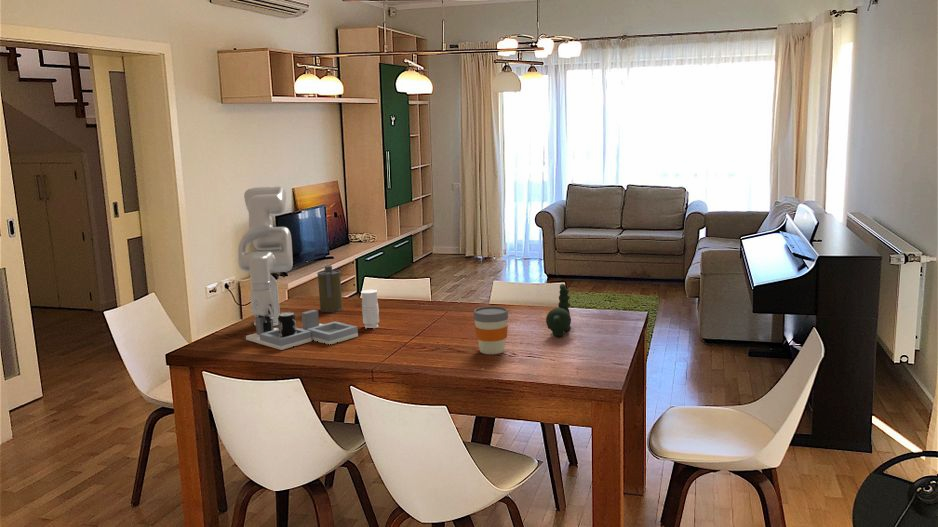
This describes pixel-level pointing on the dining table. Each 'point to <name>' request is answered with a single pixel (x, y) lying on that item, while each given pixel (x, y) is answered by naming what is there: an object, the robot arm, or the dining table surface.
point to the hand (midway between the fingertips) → (265, 330)
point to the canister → (330, 290)
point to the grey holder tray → (277, 336)
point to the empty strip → (327, 329)
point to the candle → (370, 308)
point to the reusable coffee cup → (491, 328)
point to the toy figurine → (560, 315)
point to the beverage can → (287, 324)
